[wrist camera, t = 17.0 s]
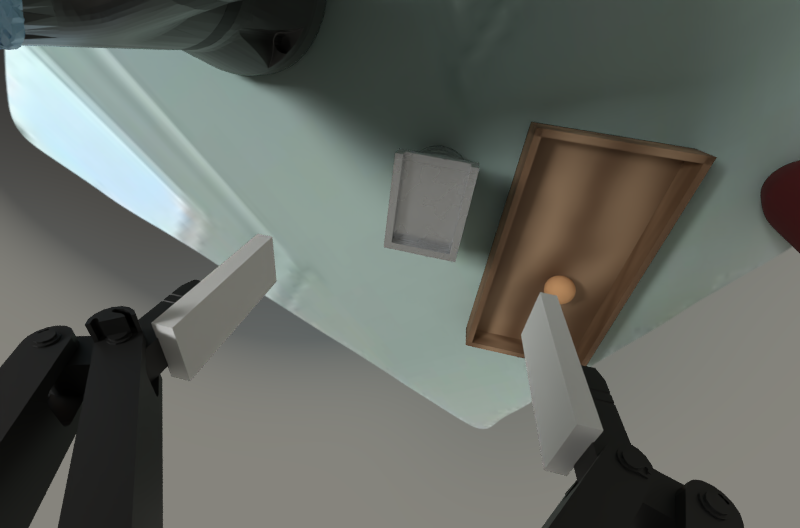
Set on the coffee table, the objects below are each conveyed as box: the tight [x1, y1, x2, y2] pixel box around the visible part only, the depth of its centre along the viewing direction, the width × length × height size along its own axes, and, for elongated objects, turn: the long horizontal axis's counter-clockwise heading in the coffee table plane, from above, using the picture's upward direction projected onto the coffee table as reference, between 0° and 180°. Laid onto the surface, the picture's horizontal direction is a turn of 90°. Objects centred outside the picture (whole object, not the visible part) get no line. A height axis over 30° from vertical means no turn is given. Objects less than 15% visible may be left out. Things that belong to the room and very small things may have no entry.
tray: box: [466, 122, 717, 366], centre depth 34 cm, size 14×25×3 cm, turn 173°
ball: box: [544, 276, 576, 304], centre depth 35 cm, size 3×3×3 cm
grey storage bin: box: [384, 146, 479, 262], centre depth 30 cm, size 6×8×8 cm
